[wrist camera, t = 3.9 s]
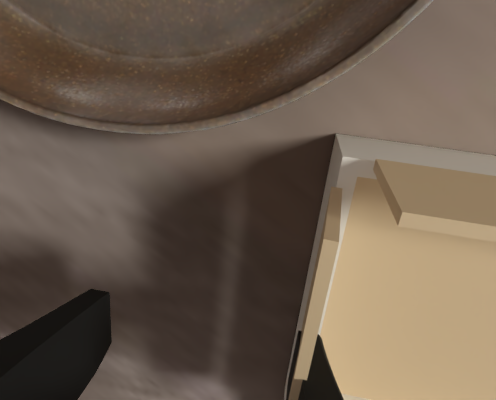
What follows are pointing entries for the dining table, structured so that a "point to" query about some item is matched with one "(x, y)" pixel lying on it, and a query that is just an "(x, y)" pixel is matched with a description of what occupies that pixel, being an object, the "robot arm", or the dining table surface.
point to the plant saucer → (182, 57)
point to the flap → (318, 290)
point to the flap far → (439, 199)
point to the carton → (404, 288)
